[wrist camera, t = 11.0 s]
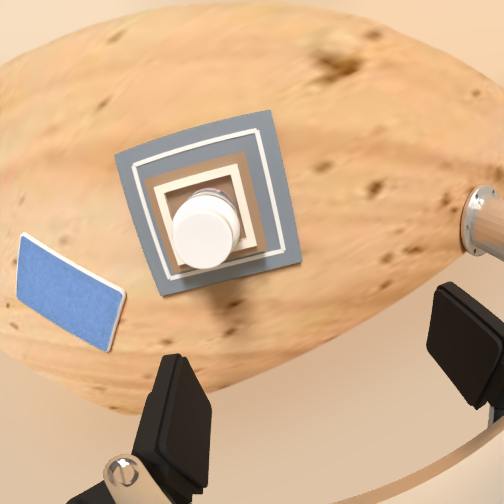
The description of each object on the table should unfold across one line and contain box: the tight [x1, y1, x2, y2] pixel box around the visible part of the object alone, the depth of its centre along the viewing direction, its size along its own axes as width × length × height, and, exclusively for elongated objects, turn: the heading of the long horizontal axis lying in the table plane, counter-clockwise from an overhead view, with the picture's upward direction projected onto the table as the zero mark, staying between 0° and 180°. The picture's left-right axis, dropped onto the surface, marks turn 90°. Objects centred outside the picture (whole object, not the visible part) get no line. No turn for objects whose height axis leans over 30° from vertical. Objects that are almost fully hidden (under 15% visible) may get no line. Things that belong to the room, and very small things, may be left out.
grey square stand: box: [114, 110, 302, 296], centre depth 28 cm, size 18×18×6 cm
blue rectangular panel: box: [16, 232, 126, 352], centre depth 32 cm, size 19×13×1 cm, turn 62°
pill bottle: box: [171, 188, 240, 269], centre depth 22 cm, size 5×5×9 cm
